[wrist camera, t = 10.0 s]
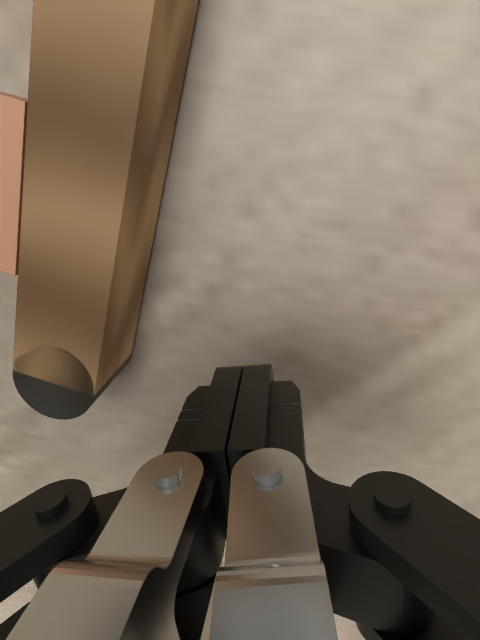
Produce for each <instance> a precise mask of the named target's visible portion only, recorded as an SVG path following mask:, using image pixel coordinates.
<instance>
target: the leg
mask: <svg viewBox="0 0 480 640" xmlns="http://www.w3.org/2000/svg"><path fill="white" fill-rule="evenodd" d="M198 1H199V0H34V1H33V19H32V37H31V55H30V73H29V90H28V108H27V126H26V144H25V162H24V180H23V197H22V215H21V233H20V251H19V269H18V287H17V305H16V322H15V340H14V358H13V379H14V383H15V386H16V388H17V390H18V392H19V394H20V395H21V397H22V398H23V399H24V400H25V402H26V403H27V404H28V405H29V406H31V407H32V408H33V409H34V410H36V411H38V412H39V413H41V414H43V415H45V416H48V417H51V418H55V419H72V418H76V417H78V416H80V415H82V414H83V413H85V412H86V411H87V410H88V409H89V407H90V406H91V405H92V404H93V403H94V402H95V400H96V399H97V398H98V397H99V396H100V395H101V393H102V392H103V391H104V390H105V389H106V388H107V386H108V385H109V384H110V383H111V382H112V381H113V379H114V378H115V377H116V376H117V375H118V374H119V372H120V371H121V370H122V369H123V368H124V367H125V365H126V364H127V363H128V361H129V359H130V357H131V354H132V349H133V343H134V338H135V333H136V327H137V322H138V317H139V312H140V306H141V301H142V296H143V291H144V285H145V280H146V275H147V270H148V264H149V259H150V254H151V249H152V243H153V238H154V233H155V227H156V222H157V217H158V212H159V206H160V201H161V196H162V191H163V185H164V180H165V175H166V170H167V164H168V159H169V154H170V149H171V143H172V138H173V133H174V127H175V122H176V117H177V112H178V106H179V101H180V96H181V91H182V85H183V80H184V75H185V70H186V64H187V59H188V54H189V49H190V43H191V38H192V33H193V27H194V22H195V17H196V12H197V6H198Z"/></svg>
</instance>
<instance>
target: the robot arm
mask: <svg viewBox="0 0 480 640" xmlns="http://www.w3.org/2000/svg"><path fill="white" fill-rule="evenodd" d="M226 539H227V541H226V555H225V565H224V567H223V562H222V558H223V553H224V546H225V540H226ZM32 579H33V580H34V582H35V584H36V586H37V589H38V591H37V592H36V594H35V595H34V597H33V599H32V600H31V601H30V602H29V603H27V604H26V605H25V606H23V607H22V608H21V609H20V610H18V611H17V612H16V613H14V614H13V615H12V616H10V617H9V618H8V619H7V620H5V621H4V622H3V623H1V624H0V640H338V637H337V631H336V626H335V620H334V615H333V613H335V614H337V615H340V616H343V617H345V618H348V619H350V620H353V621H355V622H356V624H357V627H358V629H359V631H360V633H361V634H362V636H363V637H364V638H365V639H366V640H480V519H478V518H477V517H475V516H474V515H472V514H470V513H469V512H467V511H466V510H464V509H462V508H461V507H459V506H458V505H456V504H454V503H453V502H451V501H450V500H448V499H447V498H445V497H443V496H442V495H440V494H439V493H437V492H435V491H434V490H432V489H431V488H429V487H427V486H426V485H424V484H423V483H421V482H420V481H418V480H416V479H414V478H412V477H410V476H407V475H404V474H401V473H397V472H390V471H379V472H373V473H369V474H366V475H364V476H362V477H360V478H359V479H357V480H356V481H355V482H354V483H353V485H352V486H351V487H348V486H344V485H339V484H336V483H332V482H329V481H327V480H325V479H323V478H321V477H319V476H318V475H317V474H315V473H314V472H313V471H312V470H311V469H310V468H309V466H308V465H307V463H306V458H305V444H304V432H303V420H302V409H301V398H300V390H299V389H298V388H297V387H296V385H295V384H294V383H293V382H292V381H275V382H274V381H273V373H272V366H271V364H262V365H247V366H244V367H243V366H234V367H219V368H216V370H215V373H214V376H213V379H212V382H211V385H210V386H199V387H198V388H196V389H195V390H194V391H193V392H192V393H191V394H190V395H189V396H188V397H187V398H186V401H185V403H184V406H183V408H182V411H181V413H180V415H179V417H178V422H176V425H175V427H174V429H173V432H172V434H171V436H170V439H169V441H168V443H167V446H166V448H165V451H164V453H163V454H162V455H159V456H157V457H155V458H153V459H151V460H149V461H148V462H146V463H145V464H144V465H143V466H142V467H141V468H140V469H139V470H138V471H137V473H136V474H135V476H134V478H133V480H132V481H131V483H130V485H129V486H128V487H127V488H124V489H121V490H118V491H114V492H111V493H107V494H103V495H100V496H96V497H92V494H91V491H90V488H89V486H88V485H87V484H86V483H85V482H83V481H81V480H77V479H66V480H61V481H57V482H54V483H51V484H48V485H46V486H44V487H42V488H40V489H39V490H37V491H35V492H34V493H32V494H30V495H29V496H27V497H25V498H24V499H22V500H20V501H19V502H17V503H15V504H14V505H12V506H10V507H9V508H7V509H5V510H4V511H2V512H0V603H1V602H2V601H3V600H5V599H6V598H7V597H9V596H10V595H12V594H13V593H14V592H16V591H17V590H18V589H20V588H21V587H22V586H24V585H25V584H26V583H28V582H29V581H31V580H32Z"/></svg>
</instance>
